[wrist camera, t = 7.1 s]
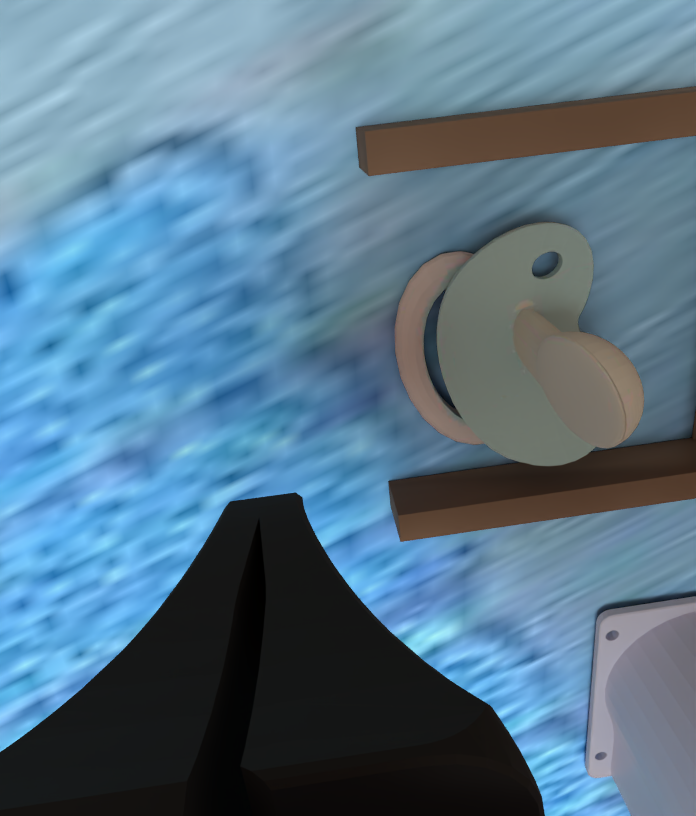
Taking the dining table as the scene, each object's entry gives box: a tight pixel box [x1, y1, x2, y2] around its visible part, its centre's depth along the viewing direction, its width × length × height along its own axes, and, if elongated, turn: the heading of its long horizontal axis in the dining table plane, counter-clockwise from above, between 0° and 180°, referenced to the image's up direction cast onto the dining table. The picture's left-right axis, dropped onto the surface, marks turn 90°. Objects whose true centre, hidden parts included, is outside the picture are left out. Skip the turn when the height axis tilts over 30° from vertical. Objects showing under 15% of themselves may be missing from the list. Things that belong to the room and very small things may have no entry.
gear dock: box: [356, 86, 696, 542], centre depth 19 cm, size 12×12×2 cm
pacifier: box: [395, 222, 644, 466], centre depth 18 cm, size 7×6×6 cm
